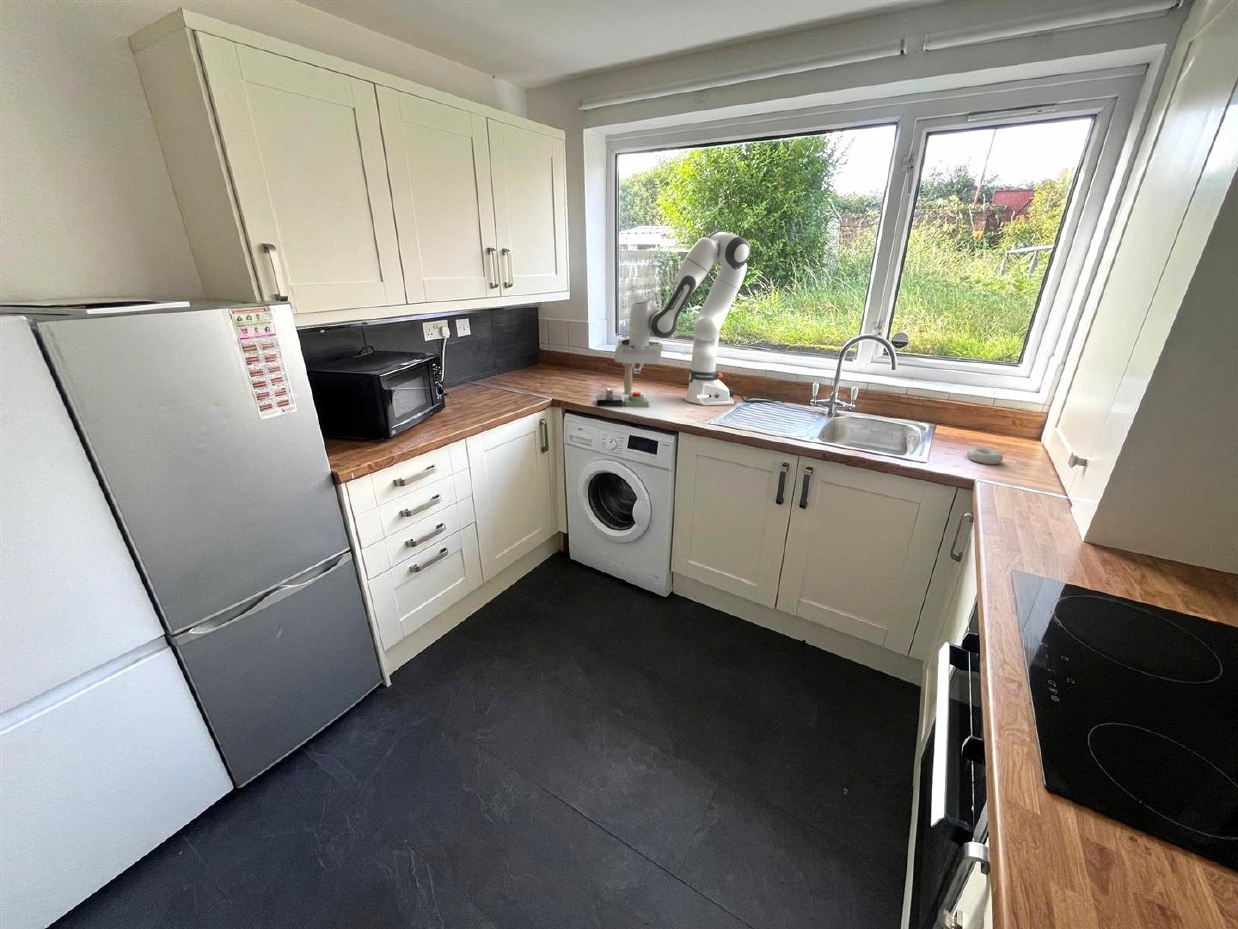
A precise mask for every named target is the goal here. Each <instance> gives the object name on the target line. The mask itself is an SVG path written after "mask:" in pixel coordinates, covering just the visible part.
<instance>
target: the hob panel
mask: <svg viewBox="0 0 1238 929" xmlns="http://www.w3.org/2000/svg"><path fill="white" fill-rule="evenodd" d="M596 407H612V408H614V407H615V408H622V407H623V398H622V395H621V394H613V399H609V398H608V397H607V396H606V394H596Z"/></svg>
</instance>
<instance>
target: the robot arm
mask: <svg viewBox="0 0 1238 929" xmlns="http://www.w3.org/2000/svg"><path fill="white" fill-rule="evenodd" d="M750 254H751V244H750V243H749V241H748V240H746V239H745V238H744V237H742V236H739V235H737V234H735V233H733V232H727V231H723V230H715V231H712V232H710V234H709V235H708V236H707V237H701V238H699V239H698V240H697V241H696V242H695V244H694V245H693V246H692V247H691V248H690V250H689V251H688V253H687V254H686V255H685V257H684V259H683V261H682V263H681V264H680V267H679V269H678V271H677V277H676V278H677V280H676V286H675V290H674V292H673V293H672V295H671V297H670V298H669V300H668V302H667V303H666V305H665V307H664V308H663V309H662V308H660V307H657V306H656V305H654V304H653V303H652V302H651V301H649V300H640V301H636V302H634V303H632V305H631V308H630V314H629V331H628V335H627V336H623V337H620V338H618V340H617V343H618V344H617V345H616V346H615V350H614V357H613V358H614V359H613V360H614V362H615V363H619V364H620V363H621V364H622V363H631V365H632V374H637V375H639V374H641V371H642V369H643V368H644V365H645V364H646V365H647V364H649V365H660V364H661V363H662V353H663V352H662V351H663V348H664V346H663V344H662V343H661V342H660V341H653V340H652V341H650V337H651V333H652V334H653V335H654V336H655V337H657V338H660V339H667V338H669V337H671V336H672V335H673V334H674V333H675V331H676V329H677V326H678V325H677V324H678V319H679V316H680V314H681V313H682V311H683V309H684V307H685V306H686V304H687V302H688V301H689V300H690V297H691V296H692V294H694V292H695V291H696V289H697V288H698V287H699V286H700V284H702V282H703V281H704V279H705V278H706V277H707V275H708V273H709V272H710V270H711V268H712V267H713V265H714V264H715V263H717V261H719V262H720V269H719V271H718V273H717V275H716V277H715V279H714V281H713V284H712V286H711V288H710V289H709V292H708V295H707V297H706V299H705V301H704V303H703V305H702V306H701V309H700V311H699V313H698V315H697V318H696V320H695V322H694V324H693V333H694V336H693V346H692V351H691V352H692V354H691V364H690V370H689V373H688V374H689V375H688V382H689V383H688V388H687V392H686V394H685V397H684V400H685V401H686V402H687V403H692V404H697V405H701V406H727V405H729V406H730V405H731V406H732V405H734V404H735V400H734V399H733V398H734V395H736V396H739V398H740V399H741V400H742V401H743V402H745V403H774V402H781V403H782V404H785V401H784V400H783V401H779V400H776V399H764V400H747V399H745V398H744V397H743V395H742V394H740V393H738V392H735V390H734V389H732V388H729V387H728V386H726V385H725V383H724V382H723V381H721V380H720V379H722V377H723V374H722V373H721V372H718V371H717V370H716V369H717V368H716V367H717V359H718V351H719V350H718V349H719V342H720V341H719V339H720V333H721V329H722V326H723V324H724V322H725V320H726V318H727V316H728V314H729V311H730V310H731V307H732V305H733V303H734V301H735V299H736V297H737V295H738V293H739V291H740V289H741V286H742V283H743V282H744V279H745V276H746V273H747V269H748V265H747V262H748V260H749V257H750ZM635 363H636V364H639V367H638V368H636V365H635Z"/></svg>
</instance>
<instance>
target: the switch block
mask: <svg viewBox="0 0 1238 929" xmlns="http://www.w3.org/2000/svg"><path fill="white" fill-rule="evenodd" d="M623 402H624V407H630V408H631V407H633V408H635V407H636V408H649V400H648V398H647V397H645V396H644V394H641V396H640V397H633V396H632V393H631V394H628V397H627V396H625V397H624V398H623Z"/></svg>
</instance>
